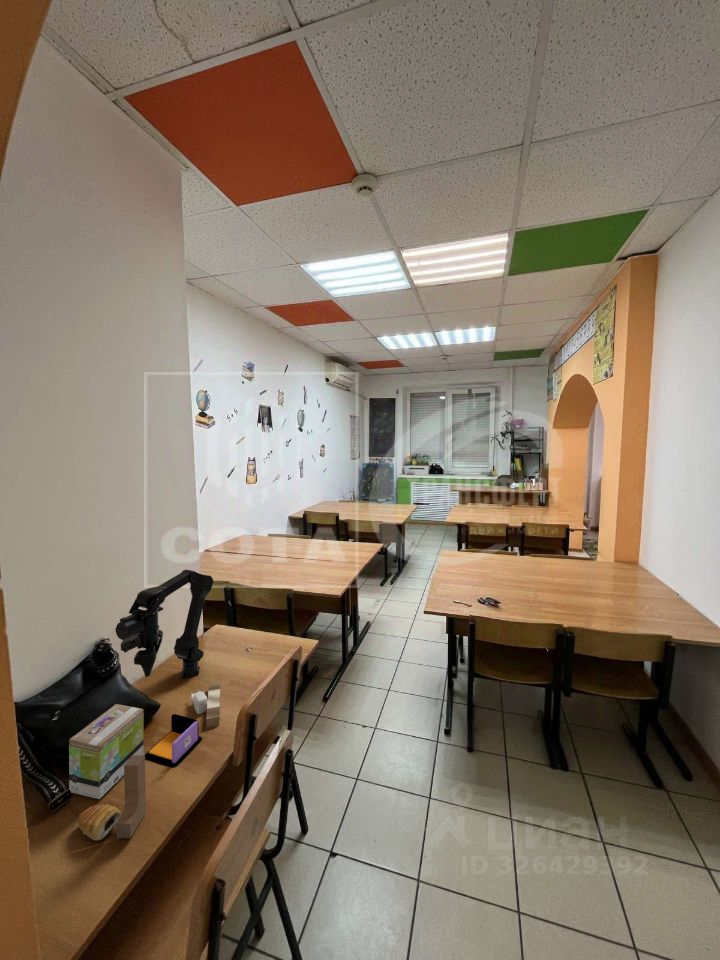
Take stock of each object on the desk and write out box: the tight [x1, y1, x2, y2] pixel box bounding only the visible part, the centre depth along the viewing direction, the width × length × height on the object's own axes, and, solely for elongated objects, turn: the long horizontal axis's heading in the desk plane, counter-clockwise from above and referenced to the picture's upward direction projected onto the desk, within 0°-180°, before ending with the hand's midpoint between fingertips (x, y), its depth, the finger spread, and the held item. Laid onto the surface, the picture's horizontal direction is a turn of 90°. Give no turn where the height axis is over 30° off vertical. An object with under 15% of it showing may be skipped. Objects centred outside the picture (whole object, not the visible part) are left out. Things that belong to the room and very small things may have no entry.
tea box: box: [68, 703, 145, 800], centre depth 104 cm, size 15×10×15 cm, turn 168°
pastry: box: [76, 803, 122, 841], centre depth 90 cm, size 9×7×4 cm
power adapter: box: [189, 689, 208, 715], centre depth 133 cm, size 10×4×5 cm, turn 39°
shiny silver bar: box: [205, 681, 221, 728], centre depth 132 cm, size 20×4×3 cm, turn 19°
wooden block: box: [115, 754, 147, 839], centre depth 90 cm, size 7×3×15 cm, turn 0°
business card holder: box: [144, 713, 203, 769], centre depth 114 cm, size 12×12×7 cm
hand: (149, 669), depth 134 cm, fingers open, 9 cm apart
